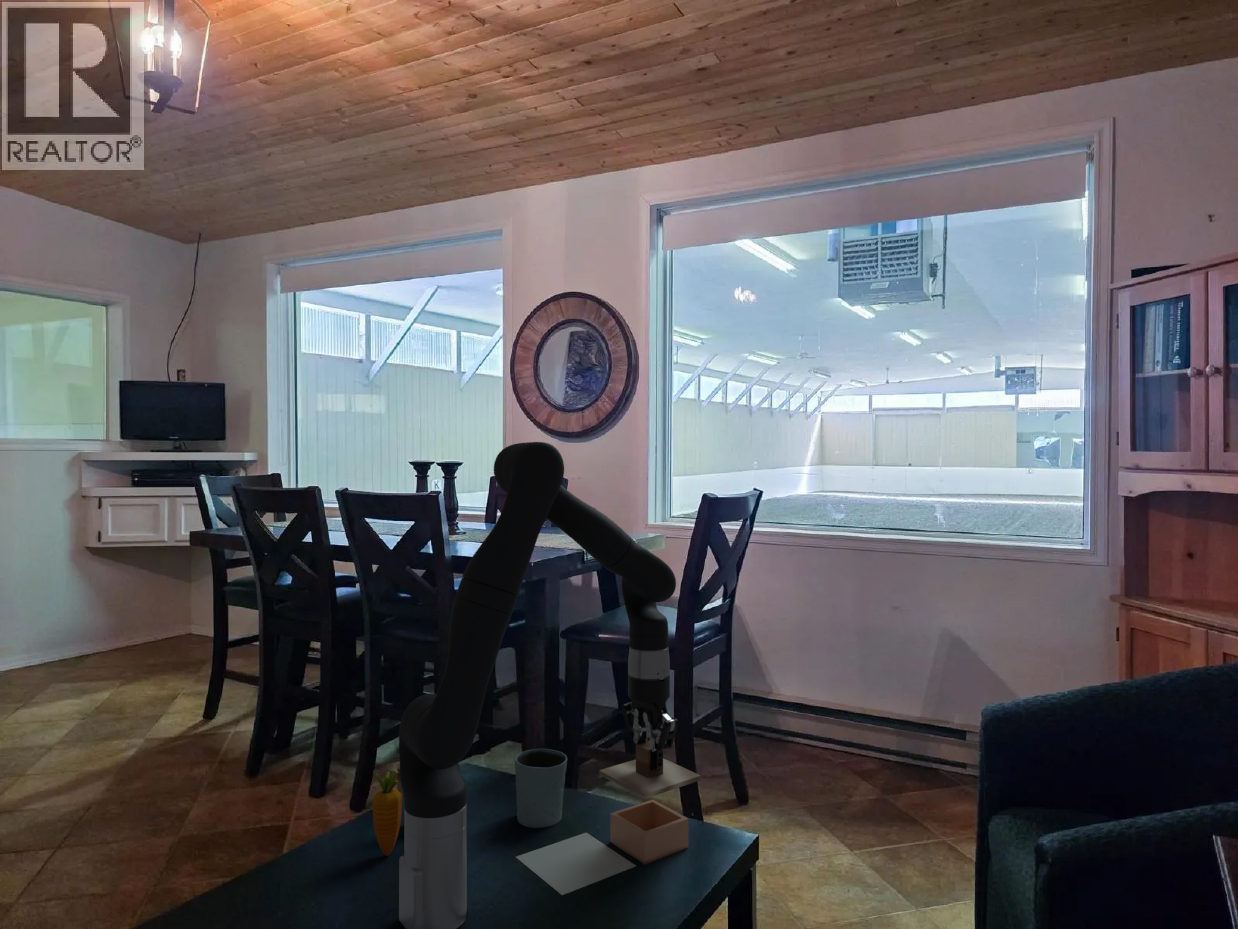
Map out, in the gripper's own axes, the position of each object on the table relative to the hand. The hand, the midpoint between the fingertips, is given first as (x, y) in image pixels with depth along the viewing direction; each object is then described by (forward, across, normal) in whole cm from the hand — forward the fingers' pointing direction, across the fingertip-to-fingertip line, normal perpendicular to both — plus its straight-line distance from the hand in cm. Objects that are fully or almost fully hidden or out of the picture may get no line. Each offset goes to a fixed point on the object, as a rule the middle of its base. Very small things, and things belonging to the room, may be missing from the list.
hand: (649, 766), depth 138 cm
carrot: (+14, -25, -39) cm, 49 cm away
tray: (+14, -3, -14) cm, 20 cm away
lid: (+2, 0, 0) cm, 2 cm away
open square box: (+14, 0, 0) cm, 14 cm away
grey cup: (+15, -21, -10) cm, 27 cm away
